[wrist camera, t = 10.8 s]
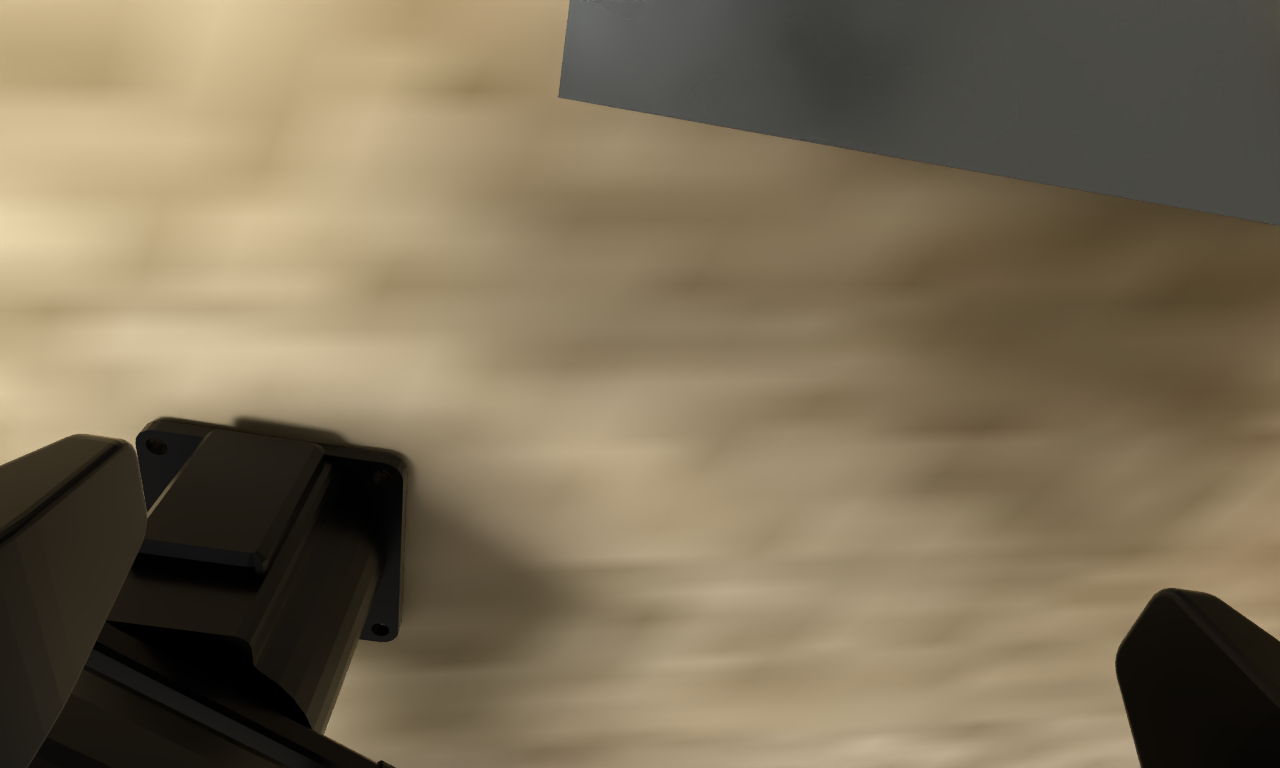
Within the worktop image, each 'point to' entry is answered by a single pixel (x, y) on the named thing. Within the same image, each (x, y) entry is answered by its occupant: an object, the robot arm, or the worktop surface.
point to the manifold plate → (968, 85)
